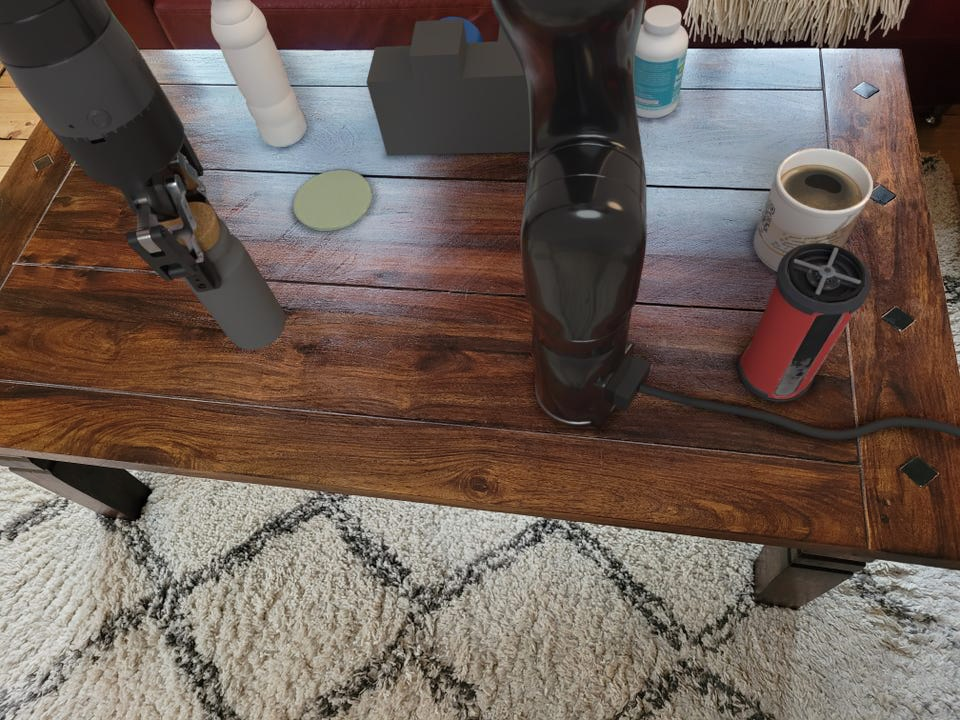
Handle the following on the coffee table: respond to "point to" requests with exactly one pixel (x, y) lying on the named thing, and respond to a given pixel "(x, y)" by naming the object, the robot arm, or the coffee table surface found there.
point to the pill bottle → (659, 61)
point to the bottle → (234, 284)
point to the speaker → (803, 319)
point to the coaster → (332, 200)
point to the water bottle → (258, 70)
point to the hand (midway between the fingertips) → (210, 258)
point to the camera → (450, 92)
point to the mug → (812, 203)
